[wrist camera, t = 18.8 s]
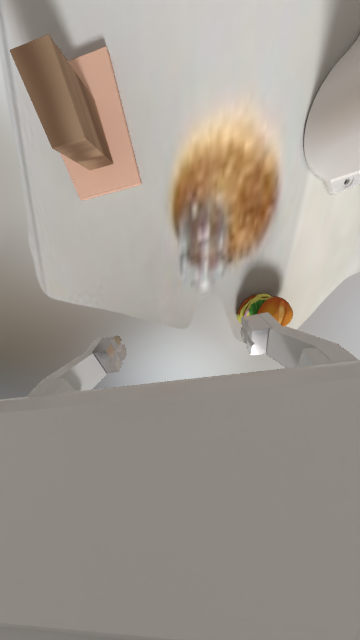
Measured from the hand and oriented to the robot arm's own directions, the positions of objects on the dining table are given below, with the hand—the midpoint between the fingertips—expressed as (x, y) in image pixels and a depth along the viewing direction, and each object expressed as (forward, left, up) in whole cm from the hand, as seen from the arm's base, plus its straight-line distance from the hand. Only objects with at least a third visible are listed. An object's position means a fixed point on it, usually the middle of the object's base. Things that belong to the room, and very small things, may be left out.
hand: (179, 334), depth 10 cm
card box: (+11, -21, -28) cm, 37 cm away
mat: (+11, -21, -29) cm, 37 cm away
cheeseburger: (-18, +17, -29) cm, 38 cm away
